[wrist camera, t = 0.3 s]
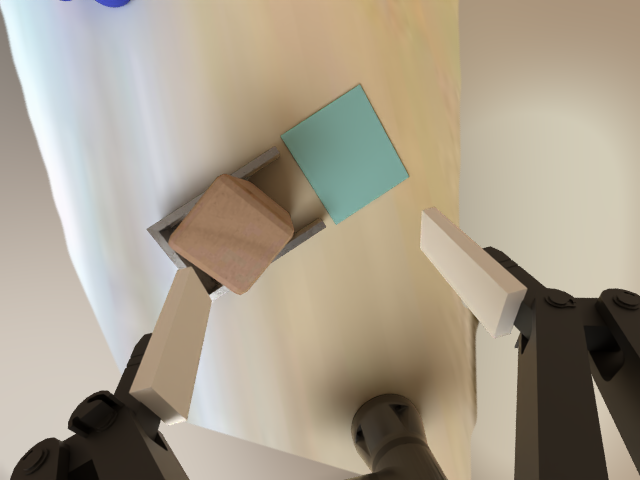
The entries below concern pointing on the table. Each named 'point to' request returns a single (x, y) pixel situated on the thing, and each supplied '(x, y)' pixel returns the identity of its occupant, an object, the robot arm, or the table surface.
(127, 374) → the robot arm
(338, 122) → the pad
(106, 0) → the mug
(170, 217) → the chute
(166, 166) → the table surface
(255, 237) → the wooden block
